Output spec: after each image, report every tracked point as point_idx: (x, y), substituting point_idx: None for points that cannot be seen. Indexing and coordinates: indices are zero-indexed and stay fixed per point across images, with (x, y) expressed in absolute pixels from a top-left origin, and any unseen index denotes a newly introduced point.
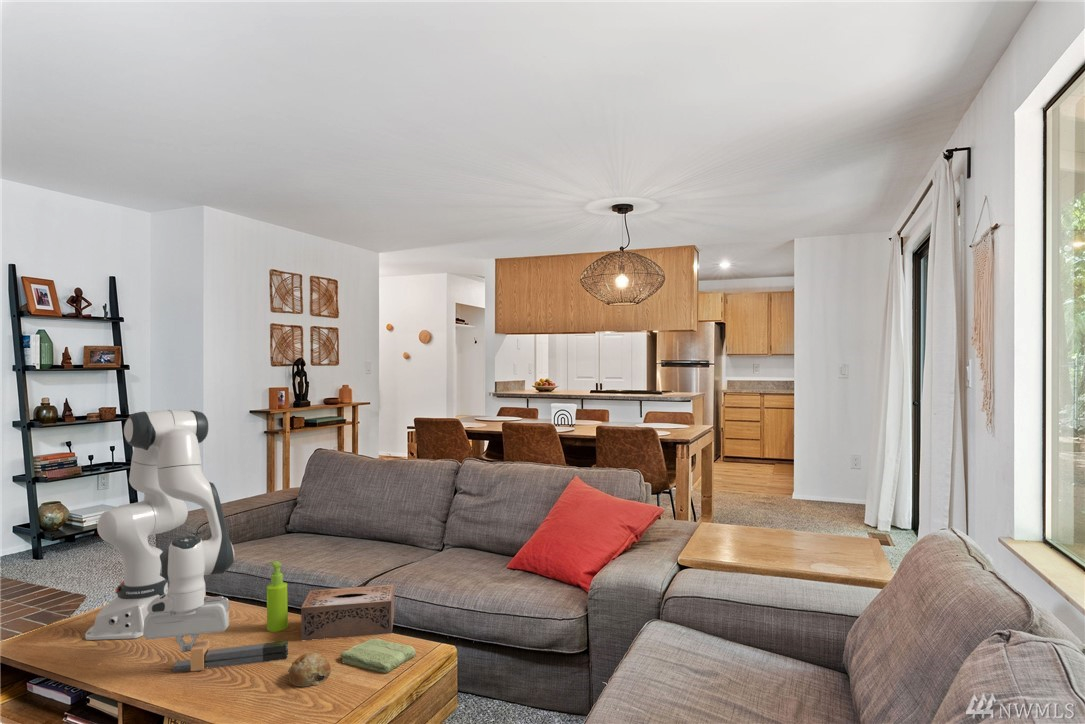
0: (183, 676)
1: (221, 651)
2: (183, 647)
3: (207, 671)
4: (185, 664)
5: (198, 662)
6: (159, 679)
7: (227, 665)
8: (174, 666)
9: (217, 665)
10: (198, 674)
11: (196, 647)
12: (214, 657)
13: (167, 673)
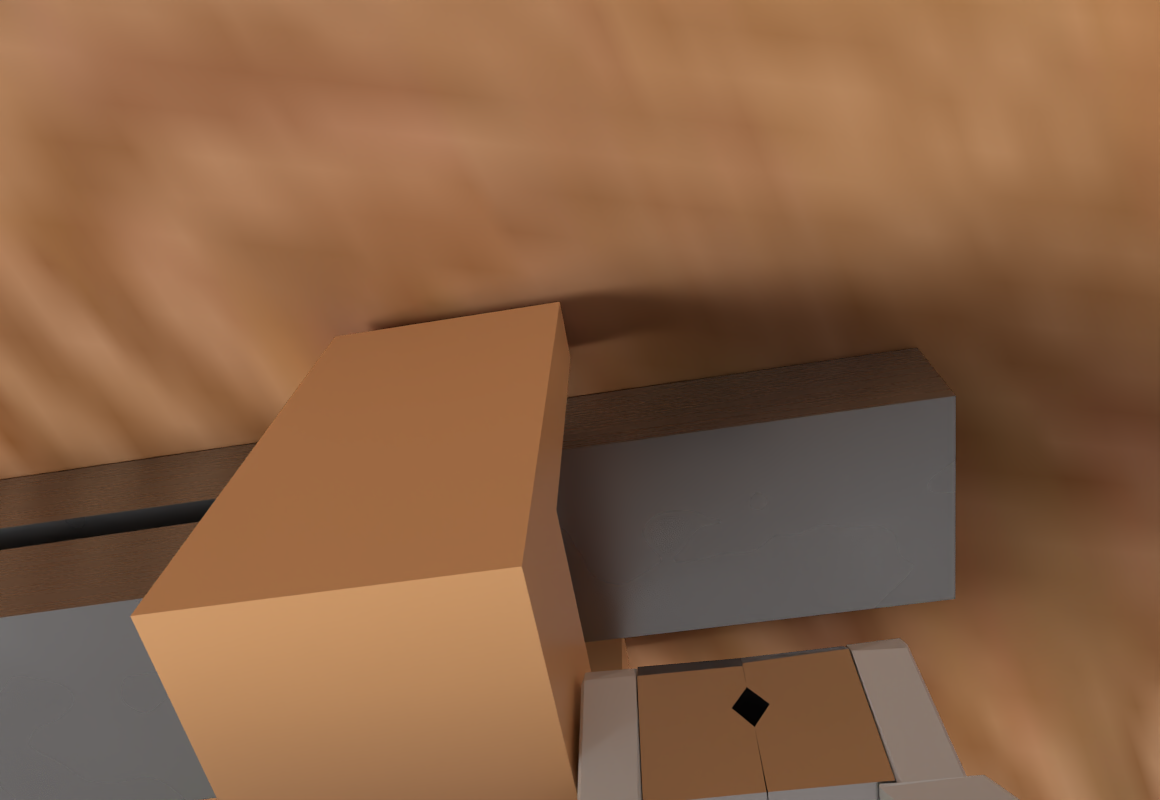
0: (636, 139)
1: (2, 700)
2: (849, 734)
3: (251, 306)
4: (722, 451)
5: (381, 389)
6: (1114, 49)
7: (3, 481)
8: (933, 398)
9: (151, 469)
10: (362, 197)
11: (406, 696)
12: (120, 554)
13: (1019, 307)
